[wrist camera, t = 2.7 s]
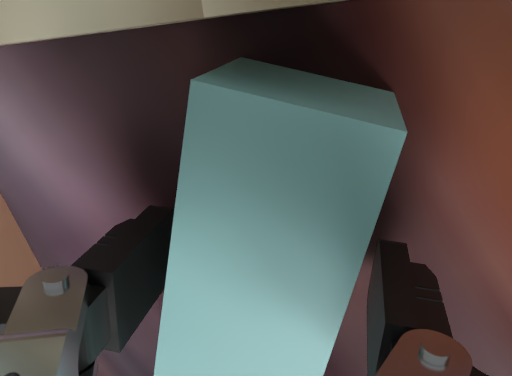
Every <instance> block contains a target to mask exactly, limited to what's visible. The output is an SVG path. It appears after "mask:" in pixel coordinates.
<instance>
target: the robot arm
mask: <svg viewBox="0 0 512 376" xmlns="http://www.w3.org/2000/svg"><path fill="white" fill-rule="evenodd" d="M173 217H174V209H172V208H165V207H158V206H152V205H150V206H148V207H147V208H146V209H145V210H144V211H143V212H142V213H141V214H140V215H139V216H138V217H137V218H136V219H129V220H127V221H124V222H122V223H120V224H118V225H116V226H114V227H113V228H112V229H111V230H110V231H109V232H108V233H107V234H105V237H104V236H103V237H102V238H101V239H100V240H99V241H98V242H97V244H94V245H93V246H92V247H91V248H90V249H89V250H88V251H87V252H86V253H84V254H83V255H82V256H81V257H80V258H79V259H78V260H77V261H76V262H74V263H73V264H72V265H71V266H67V265H65V266H54V267H50V268H46V269H43V270H41V271H39V272H37V273H35V274H33V275H32V276H30V277H29V278H28V279H27V280H26V281H25V283H24V285H23V286H18V287H0V376H97V372H98V361H97V356H98V355H99V354H100V352H101V351H102V350H103V349H105V350H109V351H114V352H119V353H120V352H121V350H122V349H123V347H124V346H125V344H126V343H127V342H128V340H129V339H130V337H131V336H132V334H133V333H134V331H135V330H136V329H137V327H138V326H139V324H140V323H141V321H142V320H143V318H144V317H145V315H146V314H147V313H148V311H149V310H150V308H151V307H152V305H153V304H154V302H155V301H156V300H157V298H158V297H159V295H160V294H161V292H162V291H163V289H164V288H165V281H166V273H167V265H168V257H169V249H170V241H171V233H172V225H173ZM442 301H443V300H442V296H441V292H440V289H439V285H438V281H437V278H436V276H435V275H434V274H433V273H432V272H431V270H430V269H429V268H428V267H427V266H426V265H425V264H419V263H413V262H410V259H409V254H408V248H407V244H406V243H401V242H394V241H387V240H381V239H378V242H377V245H376V251H375V256H374V262H373V267H372V273H371V278H370V284H369V290H368V298H367V366H368V376H488V375H486V374H484V373H483V372H481V371H479V370H478V369H476V368H475V367H473V366H472V360H471V357H470V355H469V353H468V352H467V351H466V349H465V348H464V347H463V346H462V345H461V344H460V343H458V342H457V341H456V340H454V339H453V337H452V333H451V329H450V325H449V322H448V318H447V314H446V311H445V307H444V303H442Z"/></svg>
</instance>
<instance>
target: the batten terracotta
mask: <svg viewBox="0 0 512 376" xmlns="http://www.w3.org/2000/svg"><path fill="white" fill-rule="evenodd" d="M41 270H42V269H41V267H40V265H39V263H38V261H37V260H36V258H35V256H34V254H33V252H32V250H31V248H30V247H29V245H28V243H27V241H26V239H25V237H24V236H23V234H22V232H21V230H20V228H19V226H18V224H17V223H16V221H15V219H14V217H13V215H12V213H11V211H10V210H9V208H8V206H7V204H6V202H5V200H4V198H3V197H2V195H1V193H0V287H18V286H23V285H24V283H25V281H26V280H27V279H28V278H29V277H30V276H32V275H33V274H35V273H37V272H39V271H41Z"/></svg>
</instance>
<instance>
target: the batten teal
mask: <svg viewBox="0 0 512 376" xmlns="http://www.w3.org/2000/svg"><path fill="white" fill-rule="evenodd" d="M406 135H407V129H406V126H405V123H404V120H403V117H402V114H401V112H400V109H399V106H398V103H397V100H396V97H395V94H394V92H390V91H386V90H382V89H377V88H373V87H369V86H364V85H360V84H356V83H351V82H347V81H343V80H338V79H334V78H330V77H325V76H321V75H317V74H312V73H308V72H304V71H299V70H295V69H291V68H286V67H282V66H278V65H273V64H269V63H265V62H260V61H256V60H252V59H247V58H243V57H240V58H238V59H236V60H234V61H231V62H229V63H227V64H225V65H222V66H220V67H218V68H216V69H214V70H211V71H209V72H207V73H205V74H202V75H200V76H198V77H196V78H194V79H191V82H190V90H189V98H188V106H187V114H186V122H185V130H184V138H183V146H182V154H181V162H180V170H179V177H178V185H177V193H176V201H175V209H174V217H173V225H172V233H171V241H170V249H169V257H168V265H167V273H166V281H165V289H164V297H163V305H162V313H161V321H160V329H159V337H158V345H157V353H156V361H155V369H154V376H323V375H324V372H325V369H326V366H327V363H328V360H329V357H330V355H331V352H332V349H333V346H334V343H335V340H336V337H337V334H338V331H339V329H340V326H341V323H342V320H343V317H344V314H345V311H346V308H347V305H348V303H349V300H350V297H351V294H352V291H353V288H354V285H355V282H356V279H357V277H358V274H359V271H360V268H361V265H362V262H363V259H364V256H365V253H366V251H367V248H368V245H369V242H370V239H371V236H372V233H373V230H374V227H375V225H376V222H377V219H378V216H379V213H380V210H381V207H382V204H383V201H384V199H385V196H386V193H387V190H388V187H389V184H390V181H391V178H392V175H393V173H394V170H395V167H396V164H397V161H398V158H399V155H400V152H401V149H402V147H403V144H404V141H405V138H406Z"/></svg>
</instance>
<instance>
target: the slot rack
mask: <svg viewBox="0 0 512 376" xmlns="http://www.w3.org/2000/svg"><path fill="white" fill-rule="evenodd" d="M339 1H347V0H0V46H6V45H14V44H21V43H29V42H36V41H44V40H52V39H59V38H67V37H74V36H82V35H89V34H97V33H105V32H112V31H120V30H127V29H135V28H142V27H150V26H158V25H165V24H173V23H180V22H188V21H195V20H203V19H211V18H218V17H226V16H233V15H241V14H248V13H256V12H264V11H271V10H279V9H286V8H294V7H301V6H309V5H317V4H324V3H332V2H339Z"/></svg>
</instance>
